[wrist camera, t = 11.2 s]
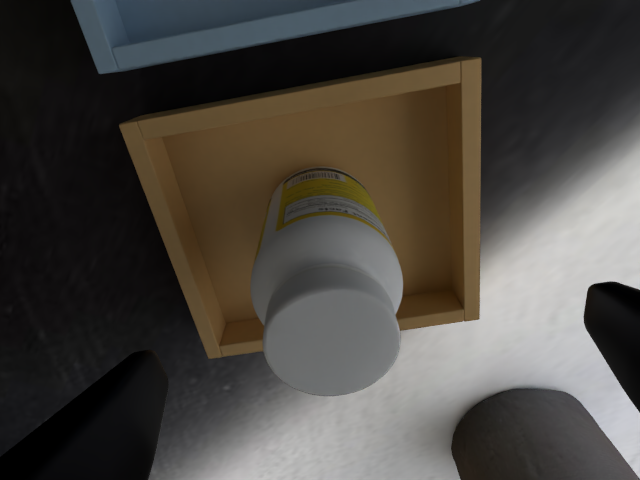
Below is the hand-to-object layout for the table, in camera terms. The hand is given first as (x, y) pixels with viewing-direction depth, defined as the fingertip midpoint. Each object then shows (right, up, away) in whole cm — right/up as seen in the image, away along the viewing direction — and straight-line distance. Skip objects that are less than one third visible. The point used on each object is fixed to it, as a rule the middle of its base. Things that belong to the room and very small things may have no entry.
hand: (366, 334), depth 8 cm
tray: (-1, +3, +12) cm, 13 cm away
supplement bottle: (-1, +3, +12) cm, 12 cm away
